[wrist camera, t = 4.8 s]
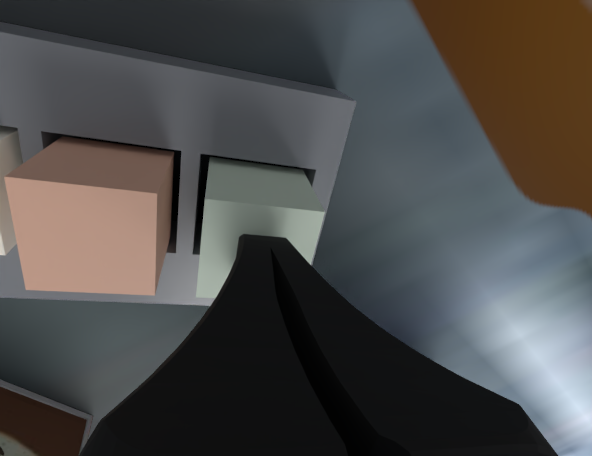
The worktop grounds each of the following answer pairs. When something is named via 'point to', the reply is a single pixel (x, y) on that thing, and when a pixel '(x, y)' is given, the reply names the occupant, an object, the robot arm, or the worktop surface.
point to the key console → (163, 129)
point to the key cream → (3, 159)
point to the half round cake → (39, 425)
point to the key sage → (253, 214)
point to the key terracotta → (92, 216)
